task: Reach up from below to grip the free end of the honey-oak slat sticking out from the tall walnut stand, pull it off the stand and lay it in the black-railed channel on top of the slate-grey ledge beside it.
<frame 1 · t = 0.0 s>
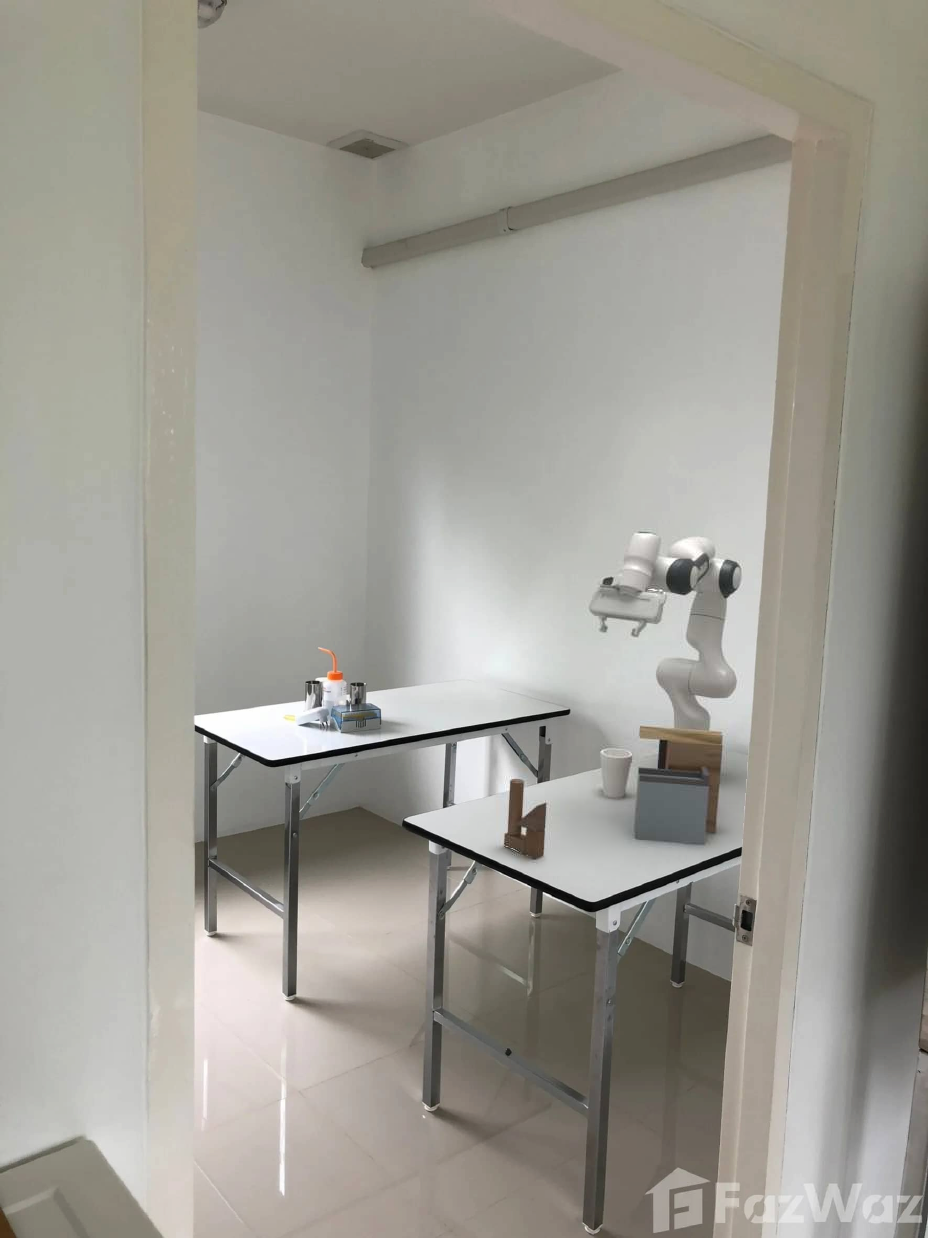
hand: (618, 633, 255), 54 cm above the table, tool tilted 30°, fingers open, 8 cm apart
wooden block: (523, 852, 245), on the table
stand: (688, 827, 266), on the table
slat: (680, 739, 263), point 25 cm above the table, touching stand
cleaning product box: (681, 804, 285), on the table
ledge: (668, 836, 259), on the table
foam cup: (613, 795, 291), on the table
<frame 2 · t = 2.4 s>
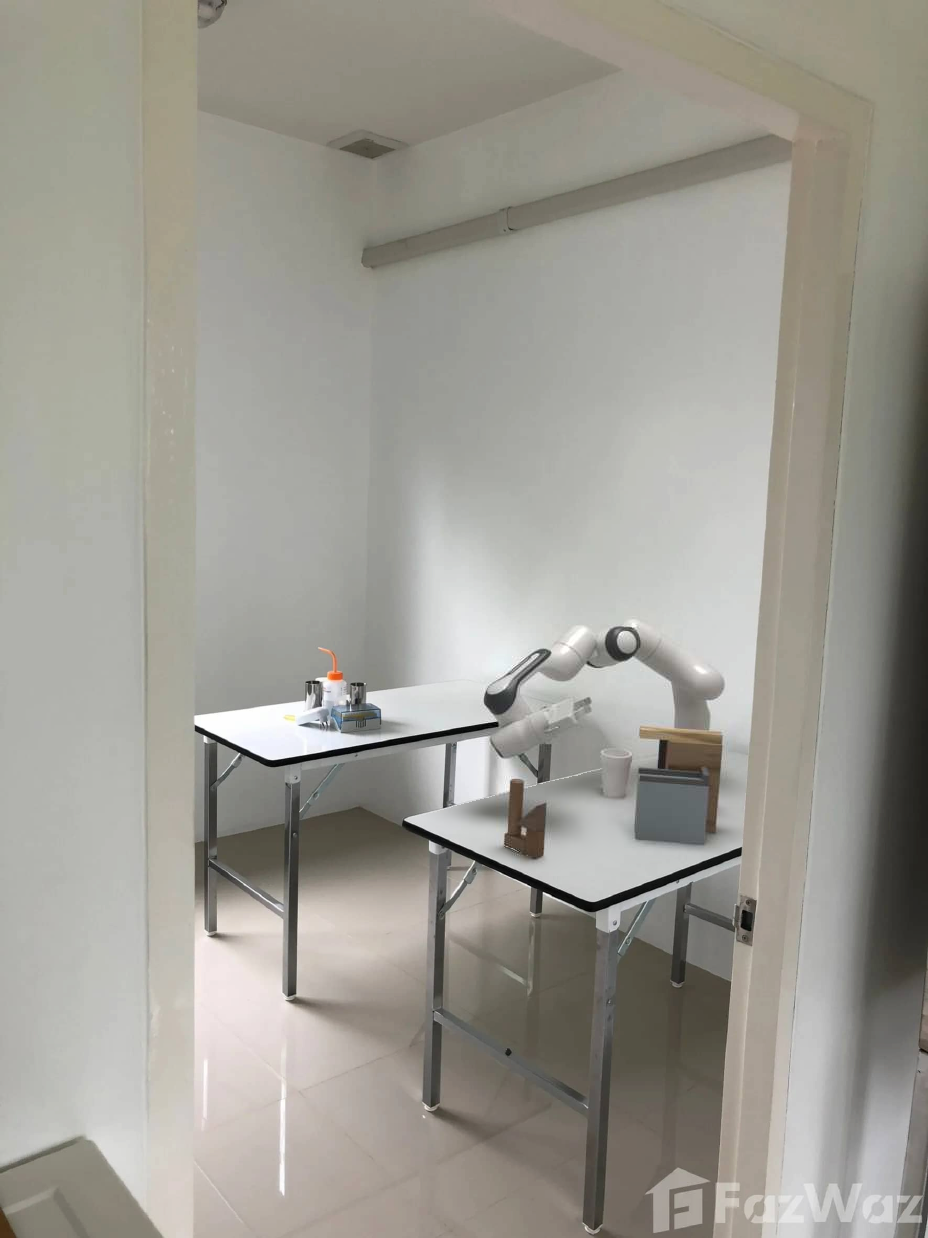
hand: (590, 703, 263), 34 cm above the table, tool pointing upward, fingers open, 8 cm apart
nothing on the table moved.
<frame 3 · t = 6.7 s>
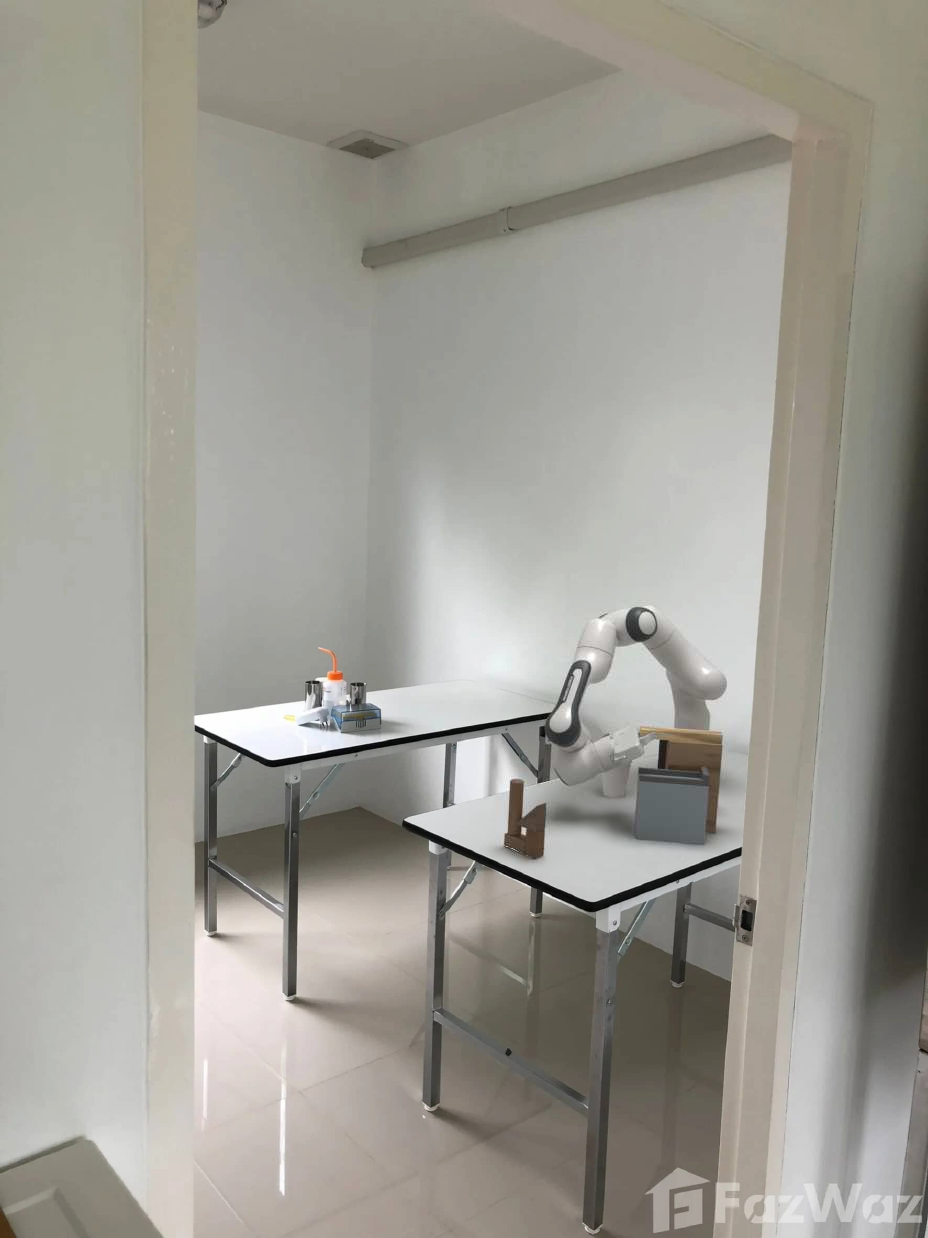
hand: (655, 731, 263), 27 cm above the table, tool pointing upward, fingers closed on slat, 4 cm apart
slat: (680, 739, 263), point 25 cm above the table, touching gripper, stand
everything else where it was.
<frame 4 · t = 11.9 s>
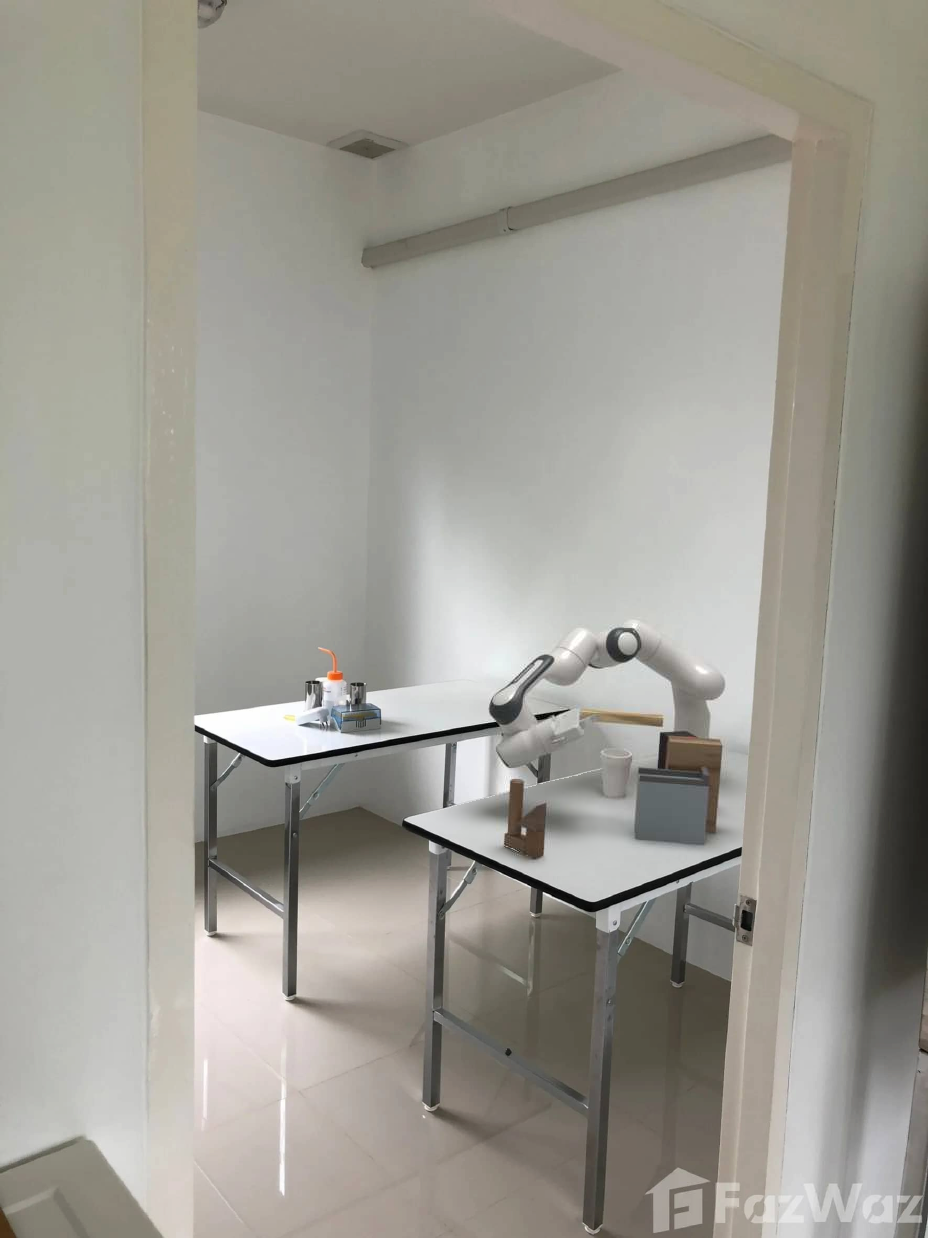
hand: (597, 714, 263), 31 cm above the table, tool pointing upward, fingers closed on slat, 3 cm apart
slat: (621, 722, 262), point 29 cm above the table, touching gripper
everything else where it was.
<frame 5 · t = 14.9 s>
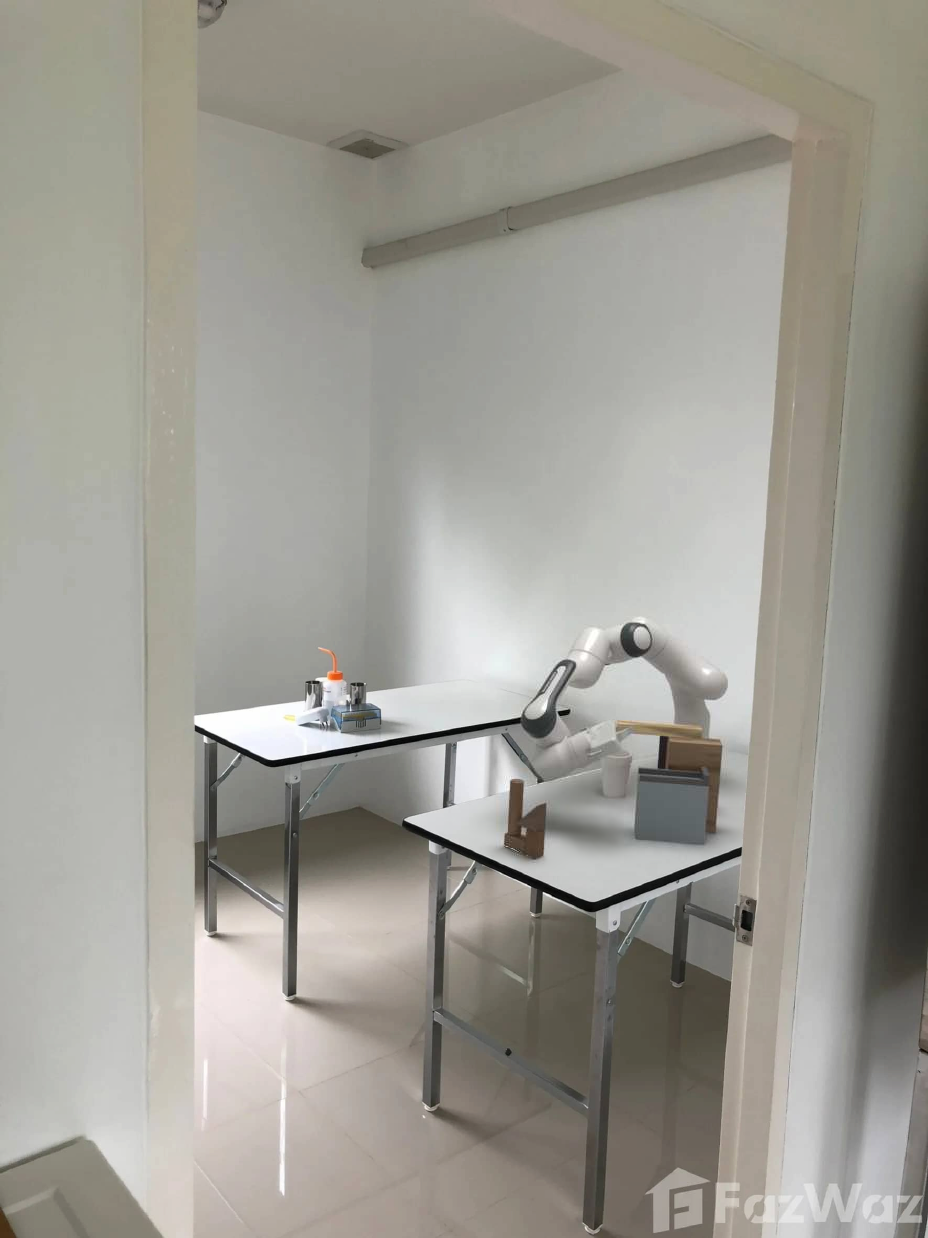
hand: (633, 726, 256), 30 cm above the table, tool pointing upward, fingers closed on slat, 3 cm apart
slat: (658, 734, 255), point 28 cm above the table, touching gripper
everything else where it was.
when the fingers open (21 cm above the table, at t = 17.1 s): slat drops 3 cm, resting on ledge.
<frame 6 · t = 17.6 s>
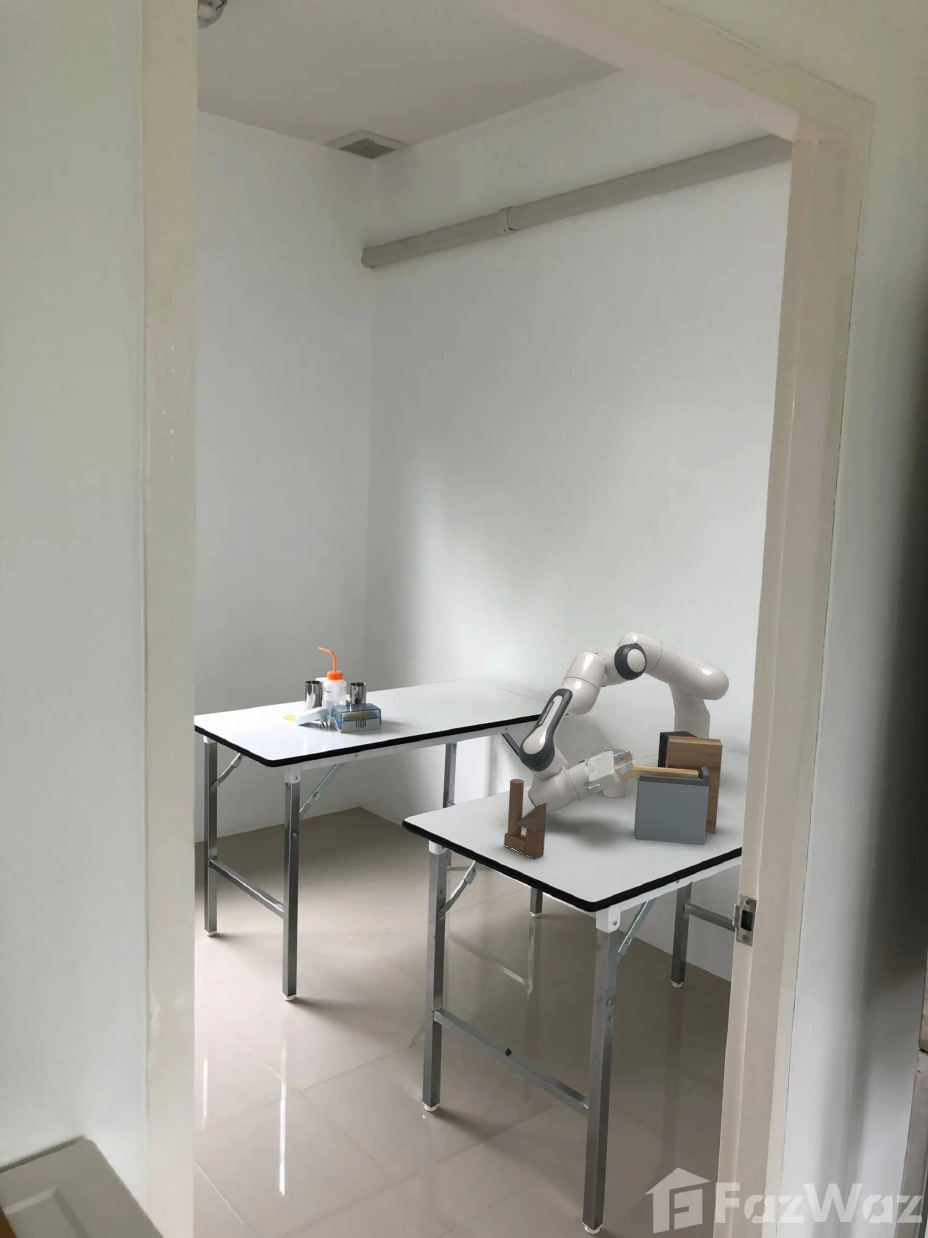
hand: (631, 758, 257), 21 cm above the table, tool pointing upward, fingers open, 8 cm apart
slat: (655, 778, 257), point 16 cm above the table, touching ledge
everything else where it was.
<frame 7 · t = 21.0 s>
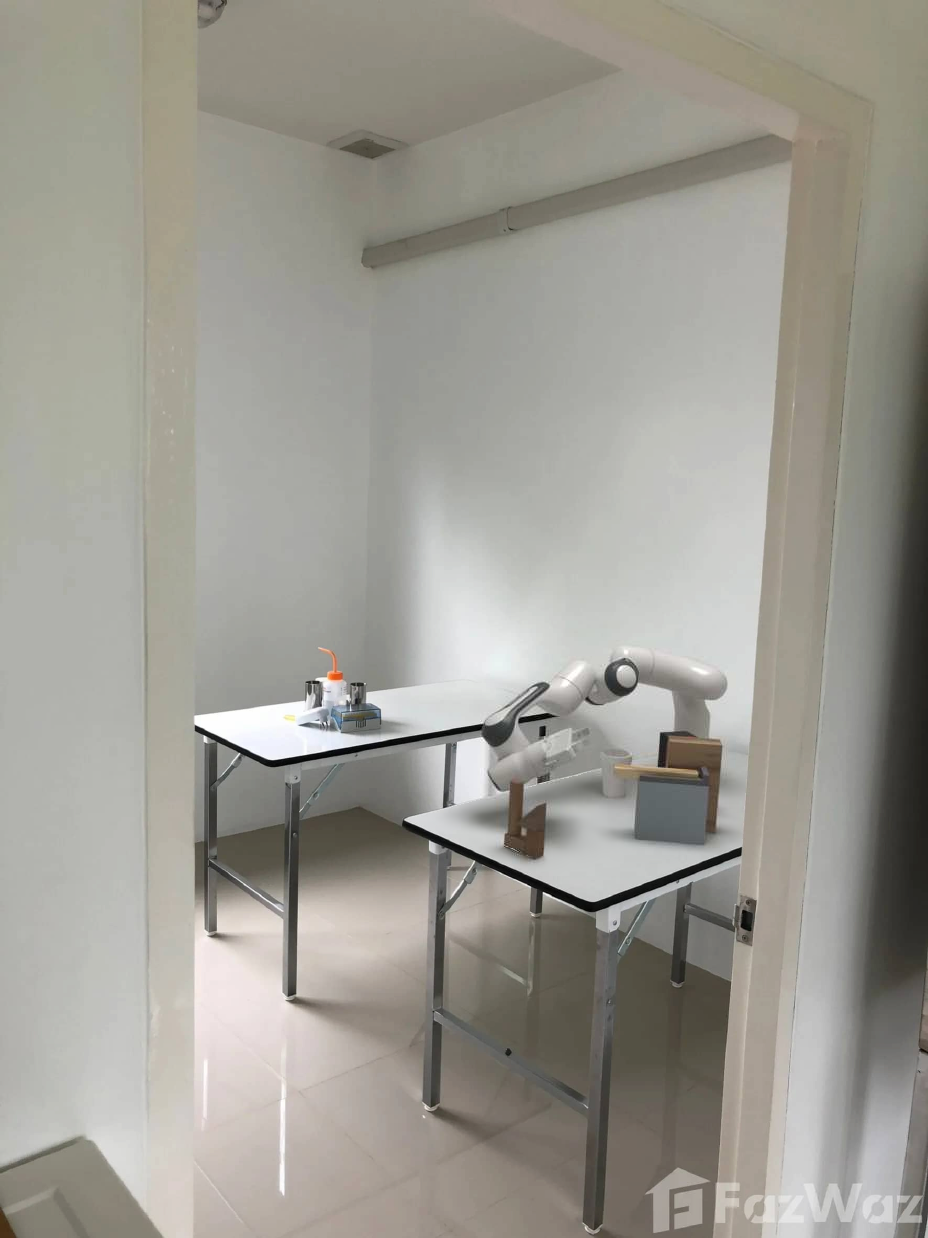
hand: (589, 734, 258), 27 cm above the table, tool pointing upward, fingers open, 8 cm apart
nothing on the table moved.
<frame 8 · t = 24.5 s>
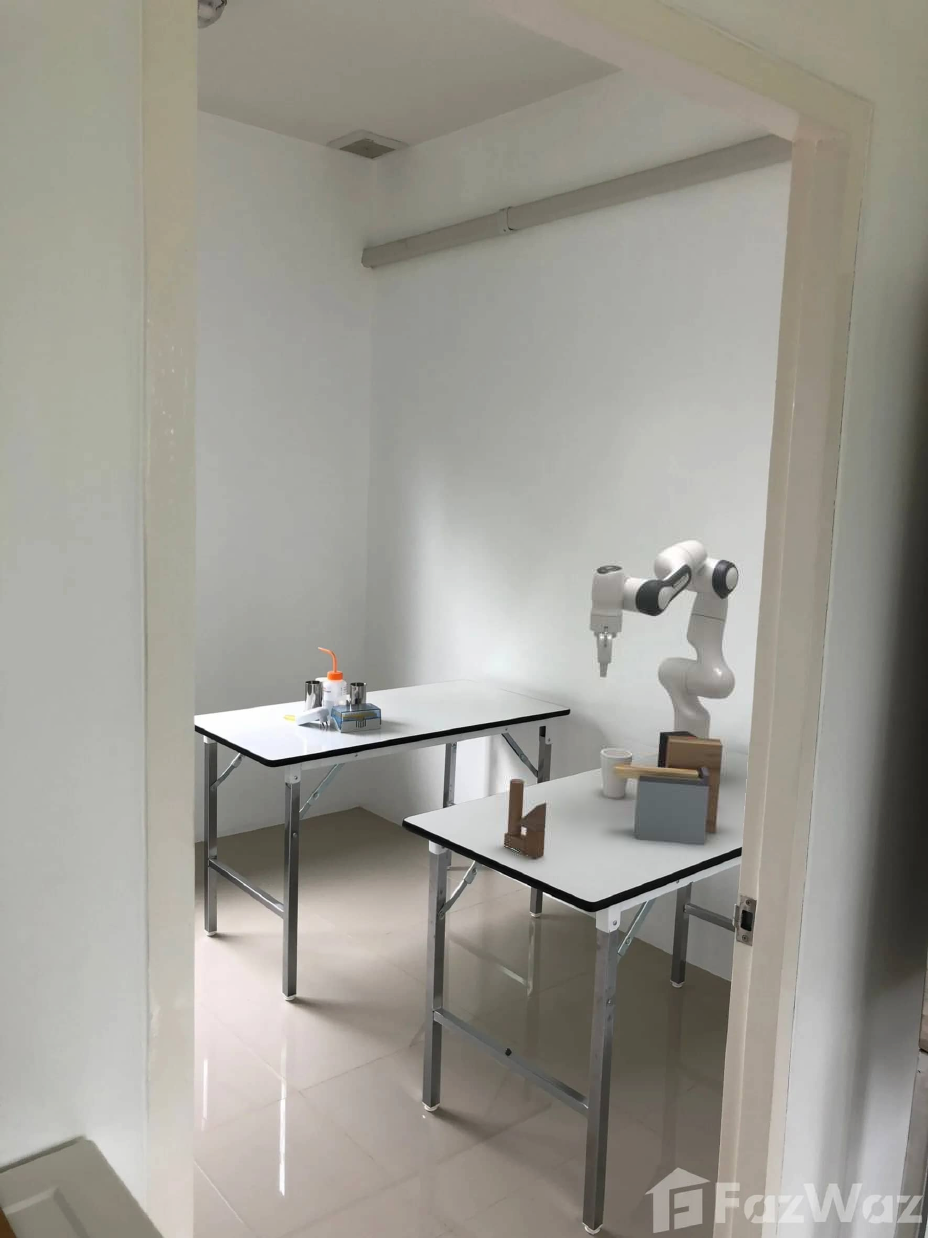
hand: (602, 673, 268), 41 cm above the table, tool pointing down, fingers open, 8 cm apart
nothing on the table moved.
at the end: slat inside the target area (0.6 cm from its centre), point 16.0 cm above the table; slat touching ledge; the gripper is holding nothing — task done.
